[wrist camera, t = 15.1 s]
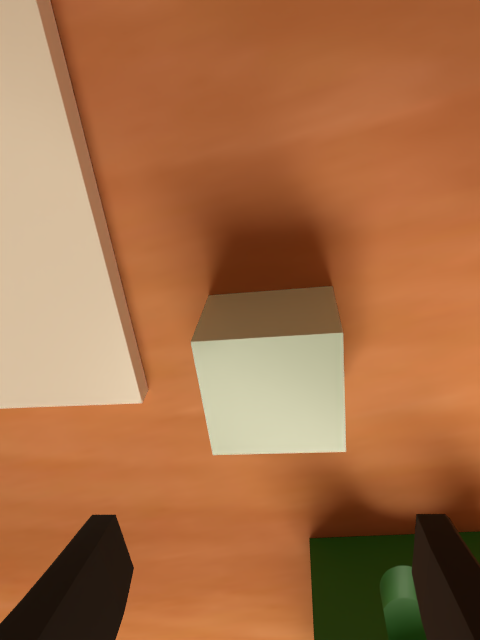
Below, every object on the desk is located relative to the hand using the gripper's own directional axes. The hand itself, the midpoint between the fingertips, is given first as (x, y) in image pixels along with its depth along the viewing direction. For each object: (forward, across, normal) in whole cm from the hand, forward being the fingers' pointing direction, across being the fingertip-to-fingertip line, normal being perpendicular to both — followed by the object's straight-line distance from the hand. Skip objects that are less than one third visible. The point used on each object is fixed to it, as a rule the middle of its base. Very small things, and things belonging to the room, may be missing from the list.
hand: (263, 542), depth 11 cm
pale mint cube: (+10, 0, 0) cm, 10 cm away
